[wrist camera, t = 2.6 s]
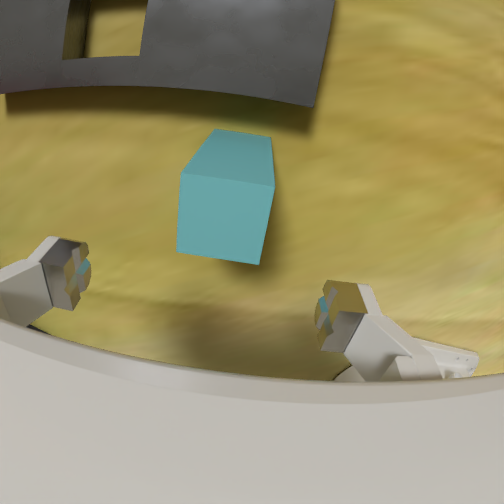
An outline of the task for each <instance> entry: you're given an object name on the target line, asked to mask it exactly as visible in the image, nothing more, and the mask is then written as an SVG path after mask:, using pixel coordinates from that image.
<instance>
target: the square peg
mask: <svg viewBox="0 0 504 504" xmlns="http://www.w3.org/2000/svg"><path fill="white" fill-rule="evenodd" d="M274 190H275V180H274V168H273V157H272V145H271V137H265V136H259V135H253V134H247V133H240V132H234V131H227V130H219V129H214V131H213V132H212V133H211V134H210V136H209V137H208V138H207V139H206V141H205V142H204V143H203V145H202V146H201V147H200V148H199V150H198V151H197V152H196V154H195V155H194V156H193V158H192V159H191V160H190V162H189V163H188V164H187V166H186V167H185V168H184V170H183V171H182V172H181V179H180V193H179V209H178V227H177V249H176V252H180V253H186V254H192V255H199V256H205V257H211V258H218V259H224V260H230V261H237V262H243V263H250V264H256V265H259V262H260V257H261V252H262V248H263V243H264V238H265V233H266V229H267V224H268V219H269V214H270V209H271V205H272V200H273V195H274Z"/></svg>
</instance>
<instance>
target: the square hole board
mask: <svg viewBox="0 0 504 504" xmlns="http://www.w3.org/2000/svg"><path fill="white" fill-rule="evenodd" d="M334 2H335V0H148V4H147V10H146V16H145V22H144V28H143V35H142V41H141V49H140V56H113V57H94V58H83V55H84V45H85V37H86V30H87V23H88V16H89V10H90V4H91V0H0V94H5V93H12V92H19V91H27V90H37V89H48V88H60V87H78V86H152V87H171V88H184V89H196V90H206V91H215V92H224V93H232V94H239V95H246V96H252V97H259V98H265V99H271V100H276V101H282V102H287V103H292V104H297V105H302V106H306V107H311V108H313V107H314V102H315V97H316V93H317V88H318V83H319V78H320V73H321V68H322V64H323V59H324V54H325V49H326V44H327V39H328V34H329V28H330V23H331V18H332V13H333V7H334Z"/></svg>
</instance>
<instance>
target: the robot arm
mask: <svg viewBox="0 0 504 504" xmlns="http://www.w3.org/2000/svg"><path fill="white" fill-rule="evenodd" d="M88 254H89V250H88V245H87V244H86V242H82V241H77V240H72V239H67V238H61V237H56V236H48V237H47V238H46V239H45V240H44V241H43V242H42V243H41V244H40V245H39V246H38V247H37V249H36V250H35V251H34V252H33V253H32V254H31V255H30V256H29V257H28V258H27V260H25V259H22V260H20V261H18V262H15V263H13V264H11V265H8V266H6V267H4V268H2V269H0V504H504V373H498V374H490V375H482V376H473V377H471V375H472V374H473V372H474V371H475V369H476V367H477V365H478V361H479V357H478V354H477V353H476V352H472V351H468V350H464V349H459V348H455V347H451V346H447V345H443V344H438V343H434V342H430V341H426V340H422V339H418V338H412V337H411V336H410V335H409V334H408V333H406V332H405V331H404V330H403V329H402V328H400V327H399V326H398V325H397V324H396V323H394V322H393V321H392V320H391V319H390V318H389V317H387V316H383V315H382V312H381V310H380V308H379V305H378V303H377V300H376V298H375V296H374V293H373V291H372V289H371V287H370V286H369V285H368V284H361V283H349V282H341V281H333V280H327V281H326V283H325V285H324V287H323V293H324V296H323V297H321V298H320V299H319V300H318V303H317V306H316V310H315V325H316V327H317V328H318V329H319V330H320V331H319V333H318V341H319V346H320V351H331V352H341V353H343V354H344V355H345V356H346V358H347V359H348V360H349V361H350V363H351V364H352V365H353V366H351V367H349V368H348V369H346V370H345V371H344V372H342V373H341V374H340V375H339V376H337V377H336V378H335V380H334V381H321V380H302V379H288V378H276V377H265V376H255V375H246V374H238V373H230V372H222V371H215V370H208V369H201V368H194V367H188V366H182V365H176V364H171V363H165V362H160V361H154V360H149V359H144V358H139V357H135V356H130V355H125V354H121V353H117V352H112V351H108V350H104V349H100V348H96V347H92V346H88V345H84V344H80V343H77V342H73V341H69V340H66V339H62V338H59V337H56V336H52V335H49V334H46V333H42V332H39V331H36V330H33V329H30V328H27V327H26V326H28V325H29V324H30V323H32V322H33V321H35V320H36V319H37V318H39V317H40V316H42V315H43V314H45V313H46V312H47V311H49V310H50V309H52V308H53V307H57V308H61V309H66V310H70V311H73V310H74V309H75V307H76V305H77V304H78V302H79V300H80V299H81V297H80V293H81V292H83V291H85V290H86V289H87V287H88V285H89V282H90V278H91V264H90V263H89V261H88V260H87V259H86V257H87V256H88ZM52 306H53V307H52Z"/></svg>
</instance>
